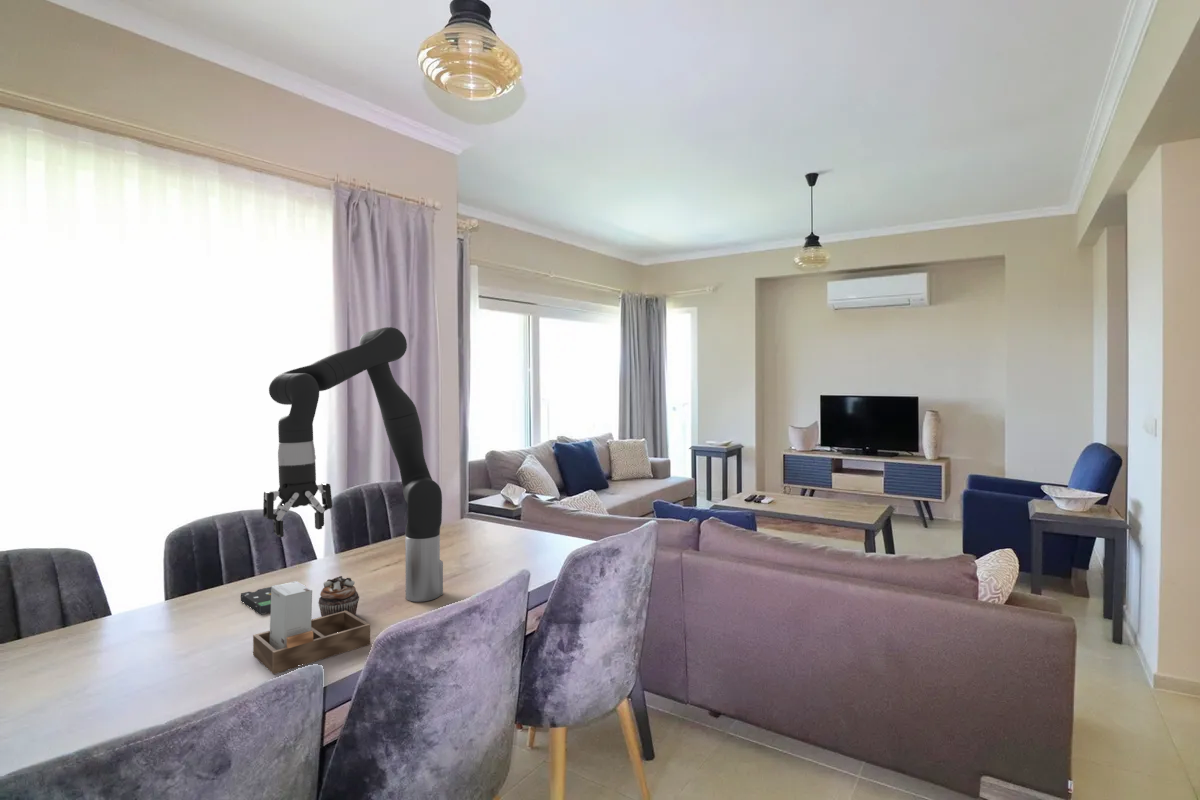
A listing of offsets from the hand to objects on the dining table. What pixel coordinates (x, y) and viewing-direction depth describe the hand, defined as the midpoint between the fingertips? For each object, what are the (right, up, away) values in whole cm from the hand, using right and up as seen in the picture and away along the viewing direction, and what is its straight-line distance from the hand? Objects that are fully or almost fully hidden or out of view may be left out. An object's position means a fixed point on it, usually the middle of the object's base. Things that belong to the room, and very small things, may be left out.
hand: (299, 532), depth 139 cm
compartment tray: (+4, -25, -3) cm, 26 cm away
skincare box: (+1, -25, -6) cm, 26 cm away
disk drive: (-21, -25, +26) cm, 42 cm away
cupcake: (+2, -25, +16) cm, 30 cm away
